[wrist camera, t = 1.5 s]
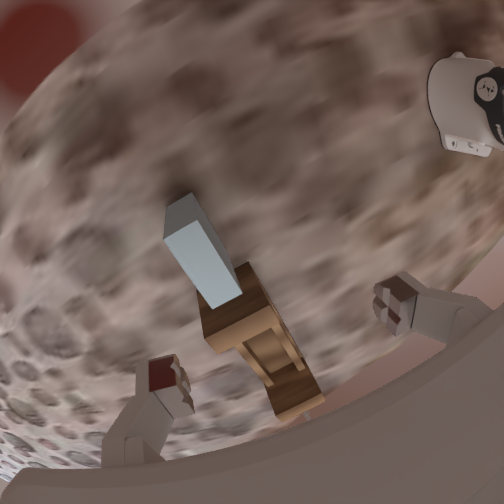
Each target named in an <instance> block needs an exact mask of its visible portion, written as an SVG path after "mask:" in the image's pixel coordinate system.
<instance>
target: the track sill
mask: <svg viewBox="0 0 504 504" xmlns="http://www.w3.org/2000/svg"><path fill="white" fill-rule="evenodd" d="M234 272H235V274H236V277H237V280H238V282H239V285H240V288H241V290H242V294H241V295H239V296H237V297H235V298H233V299H231V300H229V301H227V302H226V303H224V304H222V305H220V306H218V307H216V308H214V309H212V308H211V307H210V305H209V304H208V303H207V301H206V300H205V299H204V297H203V296H202V295H201V293H200V292H199V290H197V296H198V303H199V309H200V316H201V323H202V329H203V335H204V339H205V340H206V342H207V343H208V344H209V345H210V346H211V347H212V349H213V350H214V351H215V352H216V353H217V354H220V353H222V352H224V351H226V350H228V349H230V348H232V347H235V348H236V349H237V351H238V352H239V353H240V354H241V356H242V357H243V358H244V359H245V360H246V362H247V363H248V364H249V365H250V367H251V368H252V369H253V370H254V371H255V373H256V374H257V375H258V376H259V377H260V378H261V380H262V381H263V383H264V385H265V388H266V391H267V394H268V396H269V399H270V402H271V405H272V407H273V410H274V413H275V416H276V417H277V418H278V419H279V420H280V421H281V422H284V421H286V420H288V419H290V418H292V417H294V416H297V415H299V414H301V413H303V412H305V411H307V410H309V409H311V408H313V407H315V406H317V405H319V404H320V403H322V402H324V401H326V399H325V398H324V396H323V394H322V392H321V390H320V388H319V386H318V384H317V382H316V380H315V378H314V377H313V375H312V373H311V371H310V369H309V367H308V365H307V363H306V361H305V359H304V358H303V356H302V354H301V353H300V351H299V349H298V347H297V346H296V344H295V342H294V340H293V339H292V337H291V335H290V333H289V332H288V330H287V328H286V326H285V325H284V323H283V321H282V320H281V318H280V316H279V314H278V313H277V311H276V309H275V307H274V306H273V304H272V302H271V300H270V299H269V297H268V295H267V293H266V292H265V290H264V288H263V286H262V285H261V283H260V281H259V279H258V278H257V276H256V274H255V272H254V271H253V269H252V267H251V265H250V264H249V262H247V263H245V264H243V265H242V266H240V267H238V268H236V269H234Z"/></svg>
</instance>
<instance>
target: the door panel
mask: <svg viewBox="0 0 504 504" xmlns="http://www.w3.org/2000/svg"><path fill="white" fill-rule="evenodd" d="M163 240H164V242H165V243H166V245H167V246H168V248H169V249H170V251H171V252H172V253H173V255H174V256H175V258H176V259H177V261H178V262H179V264H180V265H181V266H182V268H183V269H184V271H185V272H186V274H187V275H188V276H189V278H190V279H191V281H192V282H193V283H194V285H195V286H196V288H197V289H198V290H199V292H200V293H201V295H202V296H203V297H204V299H205V300H206V301H207V303H208V304H209V305H210V307H211V308H212V309H214V308H216V307H218V306H220V305H222V304H224V303H226V302H227V301H229V300H231V299H233V298H235V297H237V296H239V295H241V294H242V290H241V288H240V285H239V282H238V280H237V277H236V274H235V272H234V269H233V266H232V264H231V261H230V258H229V256H228V253H227V250H226V249H225V247H224V245H223V244H222V242H221V240H220V239H219V237H218V235H217V234H216V232H215V230H214V229H213V227H212V225H211V224H210V222H209V220H208V218H207V217H206V215H205V213H204V212H203V210H202V208H201V207H200V205H199V203H198V201H197V200H196V198H195V196H194V195H193V193H192V192H191V193H190V194H188V195H186V196H184V197H183V198H181V199H179V200H177V201H176V202H174V203H172V204H171V205H169V206H167V208H166V217H165V226H164V235H163Z"/></svg>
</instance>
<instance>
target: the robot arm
mask: <svg viewBox="0 0 504 504" xmlns="http://www.w3.org/2000/svg"><path fill="white" fill-rule="evenodd" d="M428 98H429V105H430V109H431V112H432V115H433V118H434V120H435V122H436V124H437V126H438V128H439V131H440V135H441V141H442V145H443V147H444V149H446V150H452V151H457V152H463V153H468V154H473V155H478V156H482V157H488V155H489V154H490V152H491V150H492V148H493V149H497V150H500V151H504V67H496V65H495V64H493V62H492V61H490V60H483V59H475V58H466V57H465V56H464V54H463V53H461V52H454V53H453V54H452V55H451V57H449V58H444V59H441V60H439V61H438V62H436V63H435V65H434V66H433V68H432V70H431V73H430V76H429V81H428ZM374 293H375V295H376V297H375V298H374V300H373V310H374V313H375V315H376V317H377V318H378V319H379V320H380V321H382V322H385V323H387V328H388V330H389V331H390V332H391V333H392V334H393V335H394V336H395V337H396V336H398V335H400V334H402V333H404V332H406V331H408V330H410V329H411V330H413V331H415V332H418V333H420V334H423V335H426V336H428V337H430V338H433V339H435V340H438V341H440V342H443V343H446V344H447V345H446V348H444V349H443V350H441V351H440V352H438V353H437V354H435V355H434V356H432V357H431V358H429V359H428V360H426V361H425V362H423V363H421V364H420V365H418V366H417V367H415V368H413V369H412V370H410V371H408V372H407V373H405V374H403V375H402V376H400V377H398V378H396V379H394V380H393V381H391V382H389V383H387V384H386V385H384V386H382V387H380V388H378V389H376V390H374V391H372V392H370V393H368V394H366V395H365V396H362V397H360V398H358V399H356V400H354V401H352V402H350V403H348V404H346V405H344V406H342V407H339V408H337V409H335V410H333V411H330V412H328V413H326V414H323V415H321V416H319V417H317V418H314V419H311V420H309V421H306V422H304V423H301V424H299V425H296V426H293V427H291V428H288V429H285V430H282V431H279V432H277V433H274V434H271V435H268V436H265V437H262V438H258V439H255V440H252V441H249V442H245V443H242V444H238V445H235V446H231V447H227V448H224V449H220V450H216V451H211V452H207V453H203V454H198V455H194V456H189V457H184V458H179V459H173V460H167V461H166V460H165V459H163V458H162V457H161V456H160V452H161V450H162V448H163V445H164V443H165V441H166V438H167V436H168V434H169V431H170V429H171V427H172V424H173V422H174V419H176V418H180V417H184V416H188V415H192V414H195V411H194V406H193V400H192V398H191V396H190V395H189V393H190V392H191V388H190V383H189V380H188V377H187V374H186V372H185V370H184V368H182V367H180V363H179V359H178V357H177V356H176V354H171V355H167V356H163V357H158V358H154V359H150V360H147V361H142V362H138V363H137V365H136V389H135V396H132V397H131V398H130V400H129V401H128V403H127V404H126V406H125V407H124V409H123V410H122V412H121V413H120V415H119V416H118V417H117V419H116V420H115V422H114V423H113V425H112V426H111V428H110V429H109V431H108V432H107V434H106V435H105V437H104V438H103V440H102V454H101V468H92V469H46V468H33V467H27V468H23V469H21V470H20V471H19V472H18V473H17V474H16V476H15V477H14V478H13V479H12V480H11V482H10V483H9V484H8V486H7V487H6V488H5V489H4V491H3V493H2V495H1V498H0V504H504V303H503V304H502V305H500V306H499V307H498V308H497V309H496V310H492V309H491V308H490V307H489V306H487V305H486V304H485V303H483V302H482V301H481V300H479V299H478V298H477V297H473V296H468V295H463V294H459V293H454V292H449V291H444V290H440V289H435V288H430V289H428V288H427V287H426V286H424V285H423V284H422V283H420V282H419V281H418V280H416V279H415V278H414V277H412V276H411V275H410V274H408V273H407V272H404V271H403V272H401V273H398V274H396V275H394V276H392V277H390V278H388V279H385V280H383V281H381V282H379V283H376V284H375V286H374Z"/></svg>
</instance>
